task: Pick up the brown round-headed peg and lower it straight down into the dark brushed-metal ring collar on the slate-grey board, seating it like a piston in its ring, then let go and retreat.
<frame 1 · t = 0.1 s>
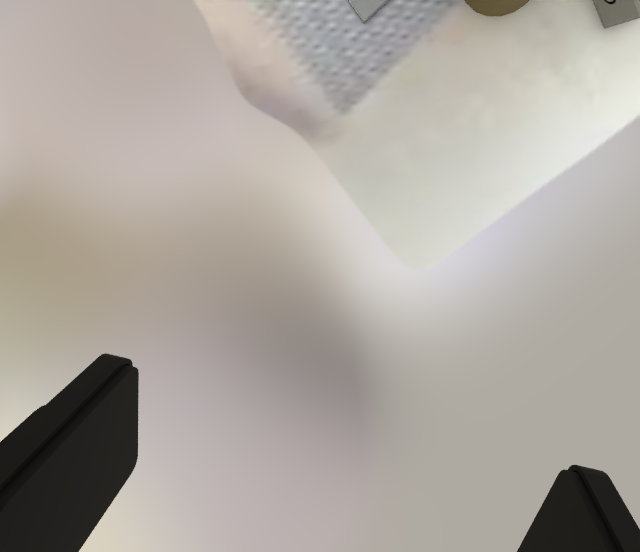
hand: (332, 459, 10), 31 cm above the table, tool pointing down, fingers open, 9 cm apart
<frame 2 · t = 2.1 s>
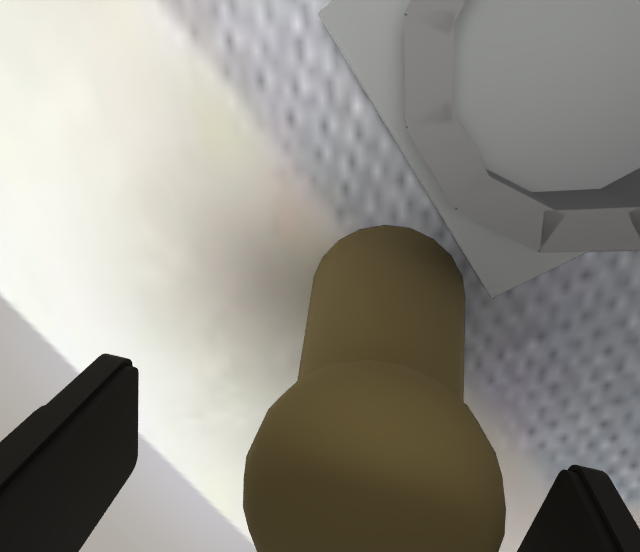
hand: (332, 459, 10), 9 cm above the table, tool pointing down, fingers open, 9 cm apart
brown round-headed peg: (386, 296, 18), on the table
ring board: (568, 62, 13), on the table
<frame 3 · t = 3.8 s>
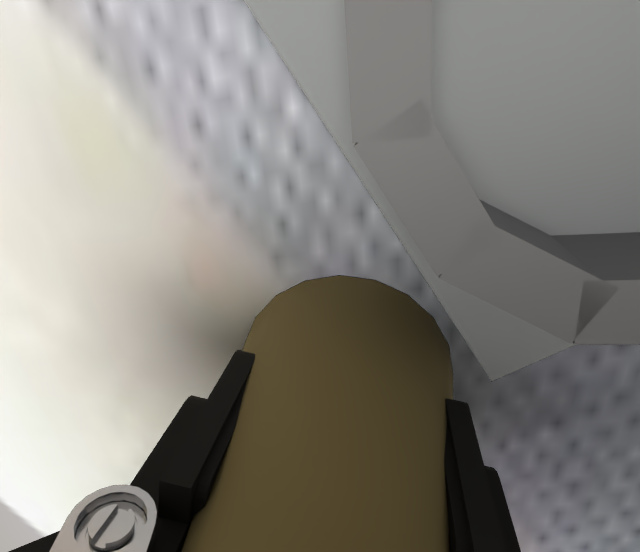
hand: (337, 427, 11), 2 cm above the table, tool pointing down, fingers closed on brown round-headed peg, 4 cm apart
brown round-headed peg: (345, 368, 13), on the table, touching gripper
ring board: (607, 39, 9), on the table
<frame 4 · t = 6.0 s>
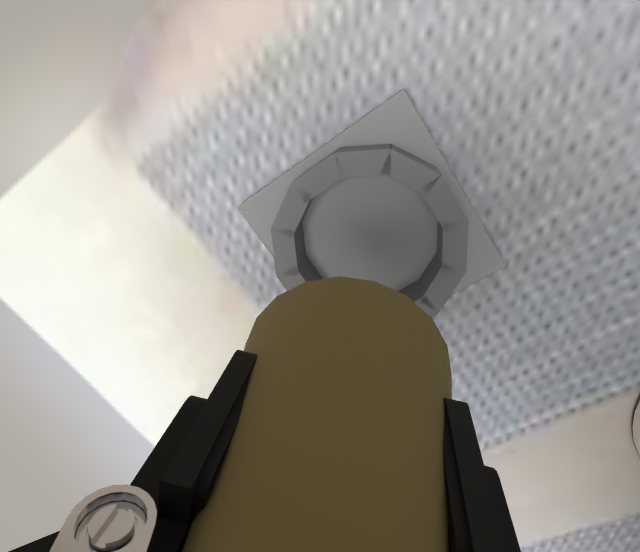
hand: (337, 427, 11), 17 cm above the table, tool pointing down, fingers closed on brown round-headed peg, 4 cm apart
brown round-headed peg: (345, 368, 13), point 14 cm above the table, touching gripper
ring board: (369, 230, 26), on the table
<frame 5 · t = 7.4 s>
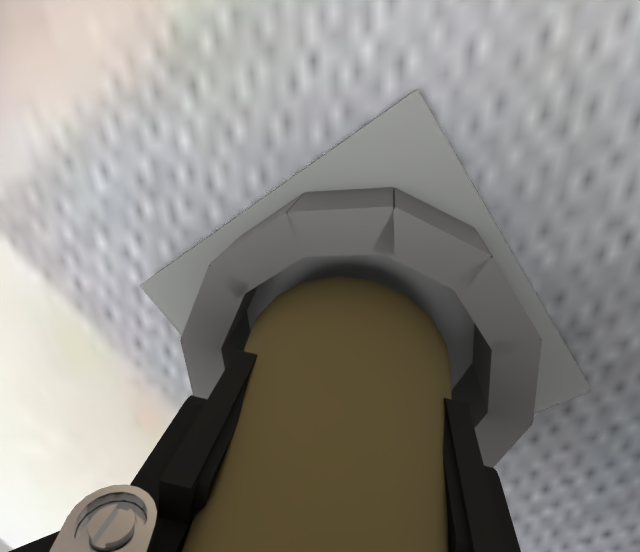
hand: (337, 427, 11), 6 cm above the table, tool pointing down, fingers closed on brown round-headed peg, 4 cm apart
brown round-headed peg: (345, 368, 13), point 3 cm above the table, touching gripper
ring board: (359, 322, 16), on the table
when the fingers open (5 cm above the table, at t = 8.2 s): brown round-headed peg drops 1 cm, resting on ring board.
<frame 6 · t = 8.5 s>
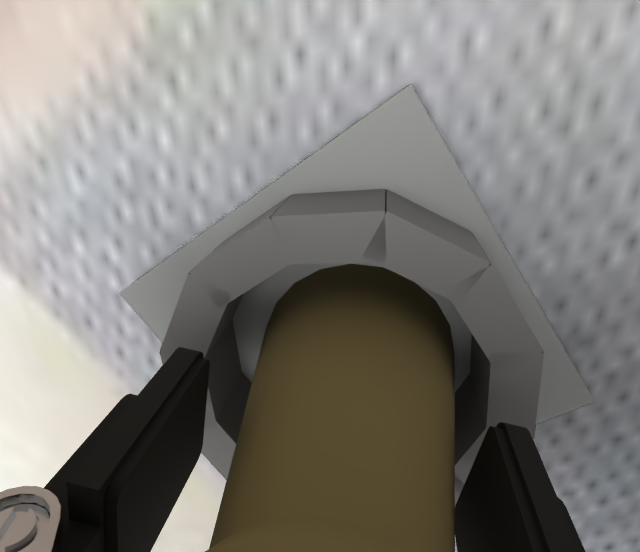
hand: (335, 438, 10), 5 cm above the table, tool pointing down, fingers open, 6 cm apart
brown round-headed peg: (357, 348, 14), point 1 cm above the table, touching ring board
ring board: (351, 330, 15), on the table
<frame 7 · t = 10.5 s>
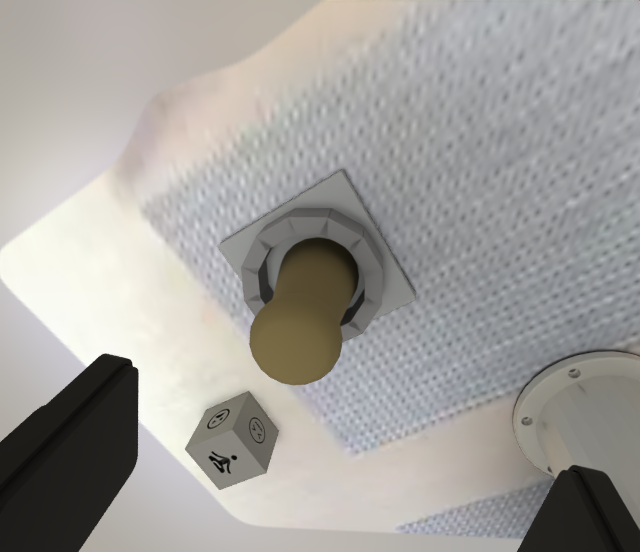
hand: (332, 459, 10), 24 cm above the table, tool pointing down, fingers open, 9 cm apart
brown round-headed peg: (319, 274, 33), point 1 cm above the table, touching ring board
dice cube: (243, 418, 41), on the table
ring board: (317, 267, 34), on the table
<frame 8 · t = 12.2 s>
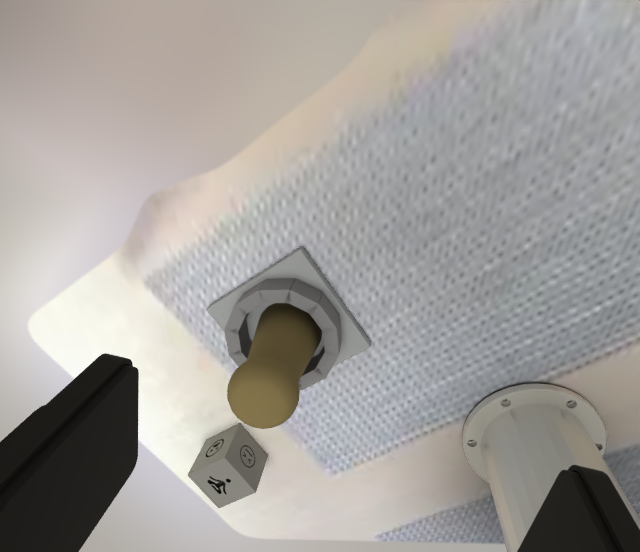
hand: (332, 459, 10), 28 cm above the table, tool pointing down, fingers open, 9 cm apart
brown round-headed peg: (290, 329, 41), point 1 cm above the table, touching ring board
dice cube: (237, 445, 48), on the table
ring board: (289, 322, 41), on the table
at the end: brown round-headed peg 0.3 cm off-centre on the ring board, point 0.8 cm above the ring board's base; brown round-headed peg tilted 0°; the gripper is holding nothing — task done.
